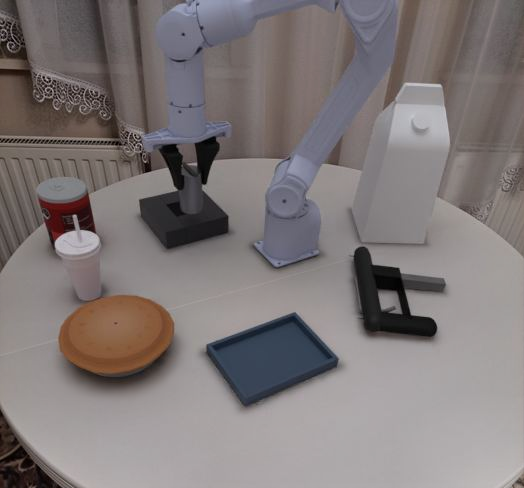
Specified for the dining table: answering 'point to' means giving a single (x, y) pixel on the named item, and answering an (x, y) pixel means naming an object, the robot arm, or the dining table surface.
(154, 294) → the dining table surface
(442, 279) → the door handle
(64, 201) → the canned food
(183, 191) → the dark grey canister
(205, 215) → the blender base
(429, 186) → the milk
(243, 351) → the tray
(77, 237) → the smoothie
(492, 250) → the dining table surface
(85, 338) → the pie
